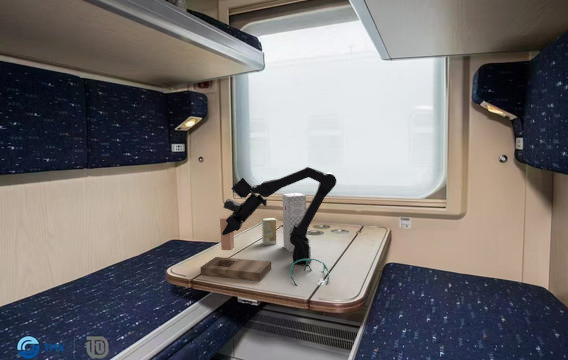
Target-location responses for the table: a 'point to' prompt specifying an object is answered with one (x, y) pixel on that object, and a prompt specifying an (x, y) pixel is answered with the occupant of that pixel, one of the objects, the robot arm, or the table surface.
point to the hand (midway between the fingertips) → (224, 232)
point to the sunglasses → (309, 267)
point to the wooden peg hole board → (236, 268)
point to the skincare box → (268, 231)
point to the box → (292, 215)
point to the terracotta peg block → (226, 236)
